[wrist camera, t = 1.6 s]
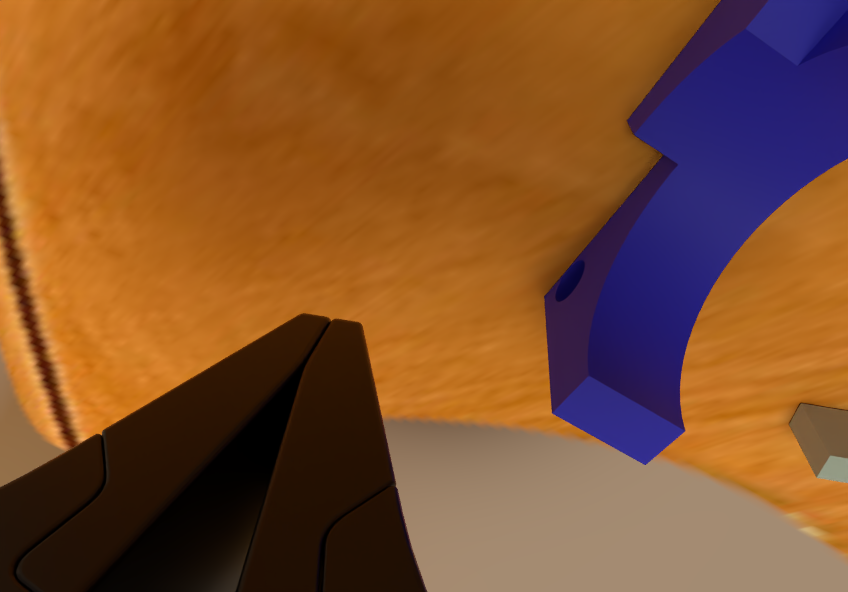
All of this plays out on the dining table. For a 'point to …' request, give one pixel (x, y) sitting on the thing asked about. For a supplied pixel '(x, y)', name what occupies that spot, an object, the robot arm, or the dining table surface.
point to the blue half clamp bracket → (695, 209)
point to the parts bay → (823, 440)
